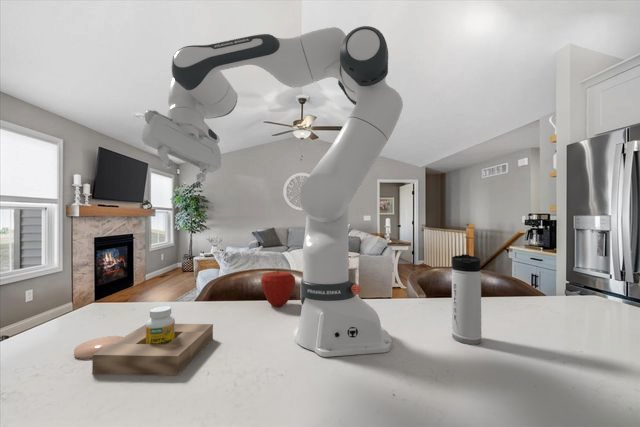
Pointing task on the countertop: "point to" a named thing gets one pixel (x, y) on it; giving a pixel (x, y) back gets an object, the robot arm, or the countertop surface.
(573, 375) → the countertop surface
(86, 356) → the peach round disc
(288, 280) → the red tapered strawberry shape
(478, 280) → the travel mug
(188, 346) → the frame
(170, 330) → the supplement bottle
